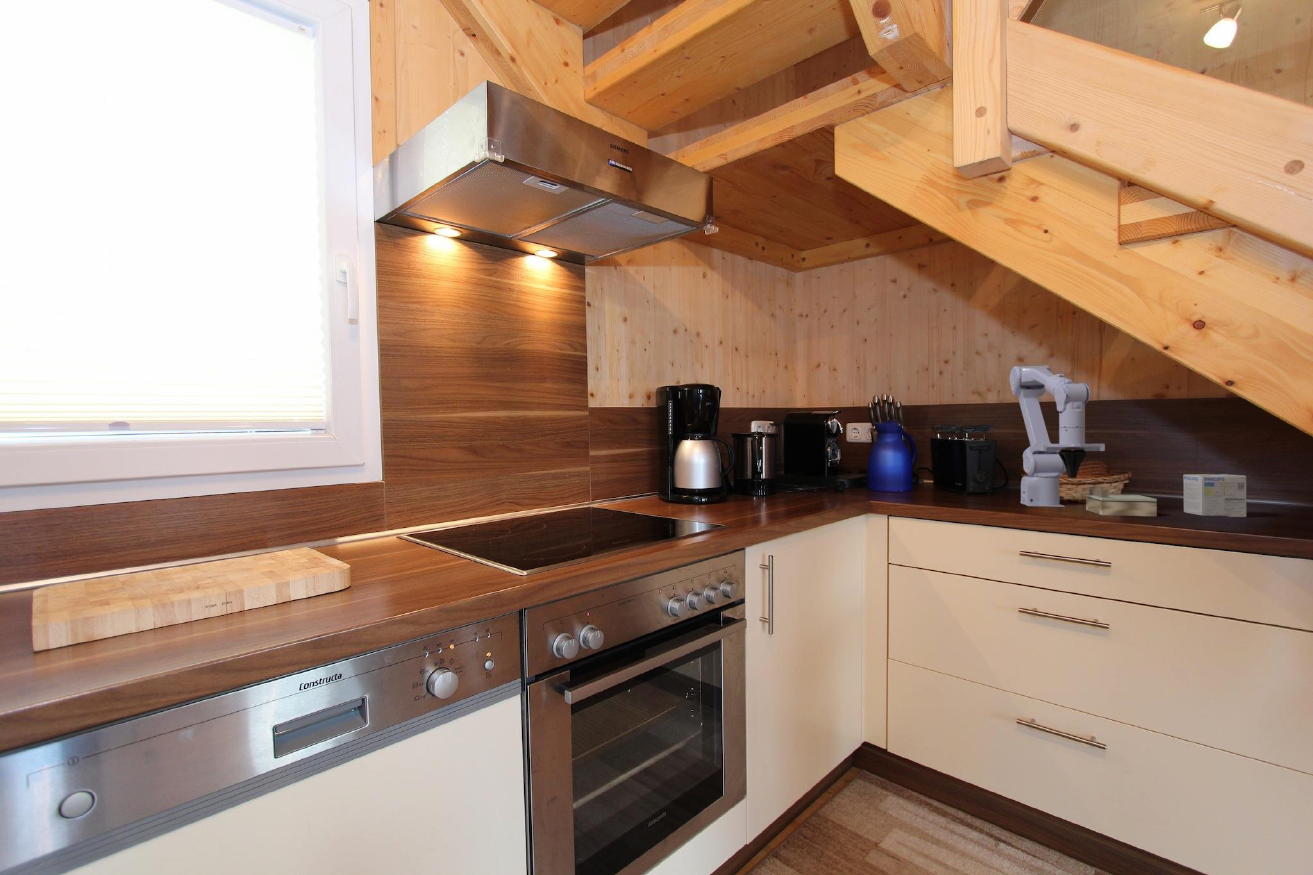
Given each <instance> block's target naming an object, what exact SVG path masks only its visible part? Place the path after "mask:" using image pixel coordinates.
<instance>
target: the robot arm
mask: <svg viewBox="0 0 1313 875" xmlns="http://www.w3.org/2000/svg"><path fill="white" fill-rule="evenodd" d="M1009 384H1010V388H1011V392H1012V395H1013V396H1014V397H1016V398H1018V402H1019V406H1020V410H1021V414H1022V417H1023V420H1024V422H1023V423H1024V425H1025V429H1026V433H1027V437H1028V440H1029V447H1027V448H1026V449H1025V450H1024V451H1023V454H1022V460H1023V461H1022V462H1023V463H1022V464H1023V465H1022V466H1023V470H1024V472H1025V473H1026V474H1027V476H1025V475H1024V476H1022V477H1021V481H1020V504H1022V505H1025V506H1027V507H1055V508H1057V507H1058V508H1059V507H1060V508H1061V507H1063V508H1064V507H1066V506H1065V505H1063V504H1060V477H1061V478H1062V477H1063V475H1064V474H1065V473H1066V474H1067V478H1069V479H1077V476H1078V472H1079V469H1080V466H1081V465H1082V463H1083V461H1084V459H1085V458H1086V456H1087V452H1090V451H1091V452H1105V450H1106V445H1105V443H1086V415H1085V414H1086V404H1087V403H1088V402H1089V400H1090V396H1091V395H1090V394H1091V392H1090V387H1089V385H1088V384H1086V383H1085V382H1081V383H1076V382H1075V381H1073V380H1072V379H1069V378H1068V377H1065V374H1063V373H1057V374H1054V373H1052V369H1051V366H1048V365H1045V364H1043V365H1033V366H1031V365H1029V366H1027V365H1026V366H1019V365H1018V366H1017V365H1015V366H1013V367H1012V369H1011V370H1010V373H1009ZM1046 392H1047V393H1049V394H1050V395H1051V396H1053V397H1054V401H1055V404H1056V410H1057V411H1058V412H1059V413H1058V415H1059V416H1058V423H1059V428H1058V438H1059V440H1058V443H1052V442H1051V440H1050V438H1049V434H1048V430H1047V427H1046V423H1045V419H1044V416H1043V413H1042V412H1043V411H1042V409H1041V405H1040V402H1039V398H1040V397H1041V396H1044V395H1045V394H1046Z"/></svg>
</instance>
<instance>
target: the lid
mask: <svg viewBox="0 0 1313 875" xmlns="http://www.w3.org/2000/svg"><path fill="white" fill-rule="evenodd" d="M1085 496H1086V497H1091V498H1095V499H1098V500H1105V501H1152V502H1157V498H1154V497H1149V496H1144V495H1140V494H1123V493H1122V494H1118V493H1117V494H1115V493H1113V494H1112V493H1111V494H1110V493H1108V489H1103V488H1099V487H1095V486H1090V487H1088V493H1085Z"/></svg>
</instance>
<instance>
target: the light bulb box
mask: <svg viewBox="0 0 1313 875" xmlns="http://www.w3.org/2000/svg"><path fill="white" fill-rule="evenodd" d="M1182 478H1183V480H1182V481H1183V512H1184V513H1187V514H1193V515H1198V516H1210V517H1212V516H1215V517H1217V516H1223V517H1224V516H1225V517H1229V518H1247V475H1245V474H1244V475H1240V474H1228V473H1219V474H1218V473H1217V474H1215V473H1211V474H1210V473H1208V474H1207V473H1206V474H1205V473H1204V474H1197V473H1196V474H1183V477H1182Z"/></svg>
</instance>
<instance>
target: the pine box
mask: <svg viewBox="0 0 1313 875" xmlns="http://www.w3.org/2000/svg"><path fill="white" fill-rule="evenodd" d="M1157 504H1158V503H1157V501H1105V500H1098V499H1095V498H1091V497H1088V496H1086V497H1085V511H1089V512H1091V513H1093V514H1094V513H1095V514H1097V515H1100V516H1120V517H1121V516H1123V517H1126V516H1127V517H1133V516H1134V517H1158V516H1157V515H1158V514H1157V513H1158V511H1157V510H1158V509H1157V508H1158V506H1157Z"/></svg>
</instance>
